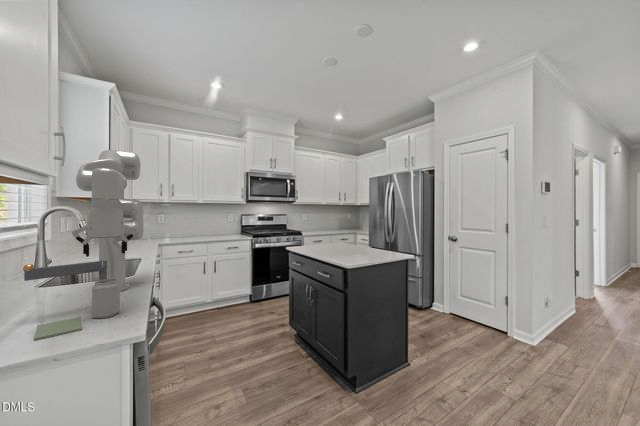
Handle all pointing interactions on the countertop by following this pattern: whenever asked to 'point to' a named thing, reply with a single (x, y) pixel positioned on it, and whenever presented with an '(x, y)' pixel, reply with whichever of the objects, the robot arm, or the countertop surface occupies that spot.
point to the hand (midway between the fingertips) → (106, 254)
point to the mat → (58, 328)
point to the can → (105, 298)
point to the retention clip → (65, 270)
